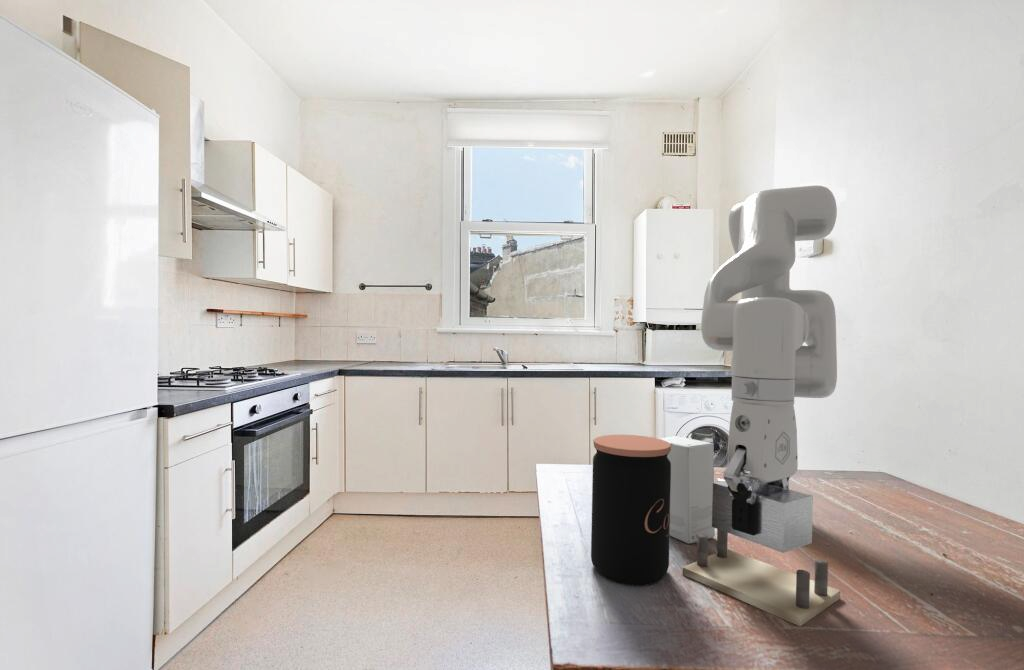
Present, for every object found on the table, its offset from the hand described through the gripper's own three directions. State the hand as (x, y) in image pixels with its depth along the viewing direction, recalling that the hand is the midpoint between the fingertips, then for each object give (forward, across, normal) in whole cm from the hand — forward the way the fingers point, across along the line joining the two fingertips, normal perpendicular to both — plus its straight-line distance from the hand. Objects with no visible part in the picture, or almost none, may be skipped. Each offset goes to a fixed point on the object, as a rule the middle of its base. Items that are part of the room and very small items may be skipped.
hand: (759, 525), depth 69 cm
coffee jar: (+8, -10, +13) cm, 19 cm away
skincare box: (+8, +8, +17) cm, 21 cm away
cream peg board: (+8, 0, 0) cm, 8 cm away
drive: (+1, 0, 0) cm, 1 cm away
